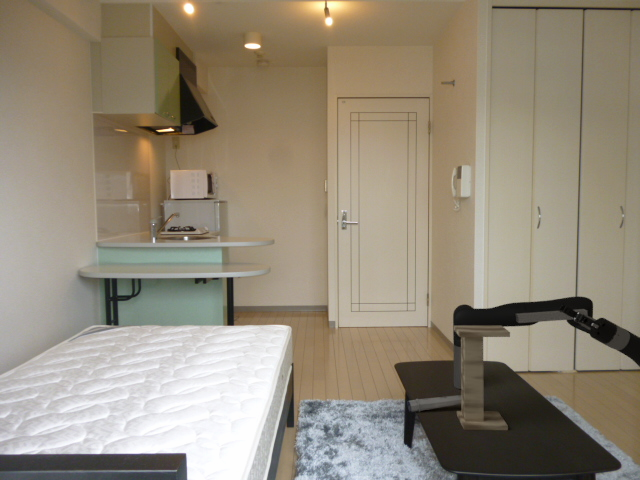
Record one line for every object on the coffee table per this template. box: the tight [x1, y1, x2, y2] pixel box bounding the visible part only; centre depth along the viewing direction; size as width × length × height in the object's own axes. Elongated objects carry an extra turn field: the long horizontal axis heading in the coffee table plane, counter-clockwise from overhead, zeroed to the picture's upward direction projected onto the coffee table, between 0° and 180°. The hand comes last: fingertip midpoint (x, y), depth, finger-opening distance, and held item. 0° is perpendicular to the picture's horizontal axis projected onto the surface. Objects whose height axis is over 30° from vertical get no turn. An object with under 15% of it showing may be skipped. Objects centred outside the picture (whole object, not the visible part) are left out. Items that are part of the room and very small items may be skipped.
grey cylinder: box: [407, 394, 461, 413], centre depth 179 cm, size 5×7×25 cm
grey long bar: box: [516, 309, 588, 323], centre depth 164 cm, size 3×22×3 cm, turn 86°
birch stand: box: [454, 325, 511, 431], centre depth 167 cm, size 12×16×32 cm
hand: (562, 308), depth 164 cm, fingers closed on grey long bar, 2 cm apart
